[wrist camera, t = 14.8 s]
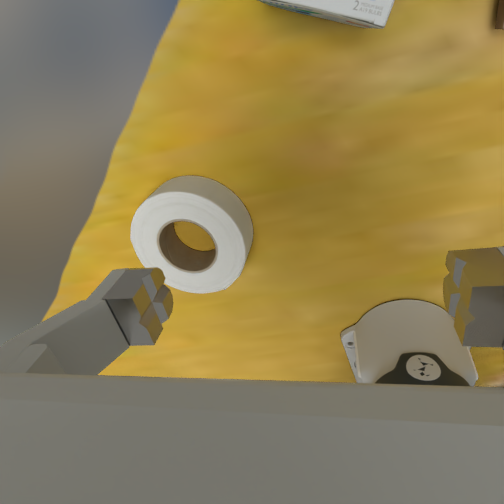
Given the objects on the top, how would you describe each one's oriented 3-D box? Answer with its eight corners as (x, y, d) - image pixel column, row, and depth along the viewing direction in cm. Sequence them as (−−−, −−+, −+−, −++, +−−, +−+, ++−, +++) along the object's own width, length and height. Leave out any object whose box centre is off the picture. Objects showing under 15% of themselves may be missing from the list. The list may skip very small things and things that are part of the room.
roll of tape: (210, 288, 55) (200, 312, 51) (128, 225, 52) (109, 245, 47) (277, 229, 47) (272, 251, 43) (186, 150, 44) (170, 164, 39)
